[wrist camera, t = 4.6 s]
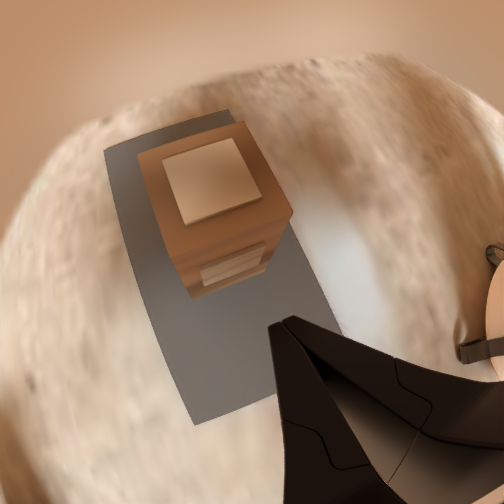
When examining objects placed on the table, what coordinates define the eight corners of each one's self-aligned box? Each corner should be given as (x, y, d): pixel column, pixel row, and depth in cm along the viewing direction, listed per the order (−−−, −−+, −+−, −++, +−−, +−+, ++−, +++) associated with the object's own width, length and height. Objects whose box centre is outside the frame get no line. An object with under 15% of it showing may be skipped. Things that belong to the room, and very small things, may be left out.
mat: (348, 354, 18) (351, 354, 17) (195, 423, 16) (194, 425, 15) (227, 113, 23) (228, 109, 22) (105, 154, 21) (103, 150, 20)
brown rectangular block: (268, 273, 18) (302, 212, 11) (193, 303, 17) (170, 261, 10) (237, 206, 20) (248, 116, 12) (167, 232, 19) (135, 151, 11)
